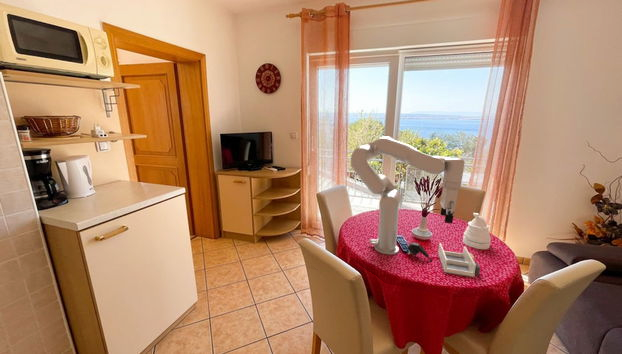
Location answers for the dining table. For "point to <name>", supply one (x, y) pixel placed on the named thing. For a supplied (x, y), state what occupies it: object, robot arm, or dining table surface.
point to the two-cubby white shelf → (457, 262)
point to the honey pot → (477, 233)
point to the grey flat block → (477, 269)
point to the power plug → (417, 249)
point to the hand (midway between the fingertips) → (446, 219)
